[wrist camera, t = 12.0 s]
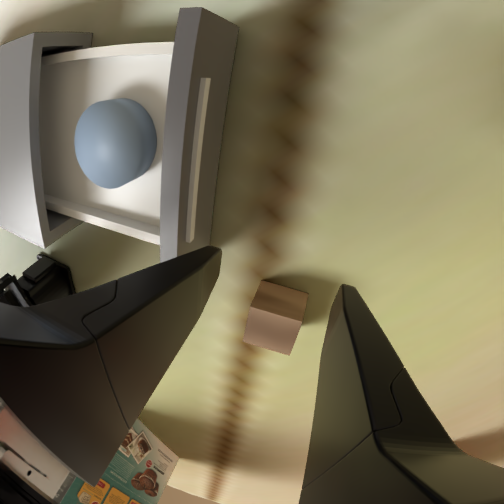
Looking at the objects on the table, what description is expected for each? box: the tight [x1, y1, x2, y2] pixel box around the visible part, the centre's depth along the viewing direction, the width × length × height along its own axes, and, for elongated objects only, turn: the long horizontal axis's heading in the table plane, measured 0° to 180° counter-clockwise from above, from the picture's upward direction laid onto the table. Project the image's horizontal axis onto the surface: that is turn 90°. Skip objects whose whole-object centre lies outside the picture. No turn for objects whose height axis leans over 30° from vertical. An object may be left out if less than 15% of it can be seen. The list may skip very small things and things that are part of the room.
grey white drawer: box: [39, 7, 239, 263], centre depth 19 cm, size 18×20×6 cm
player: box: [0, 32, 93, 249], centre depth 22 cm, size 18×20×6 cm
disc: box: [74, 98, 157, 189], centre depth 19 cm, size 6×6×2 cm
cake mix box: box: [53, 418, 179, 504], centre depth 41 cm, size 22×6×30 cm, turn 20°
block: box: [243, 280, 308, 356], centre depth 25 cm, size 4×4×4 cm
